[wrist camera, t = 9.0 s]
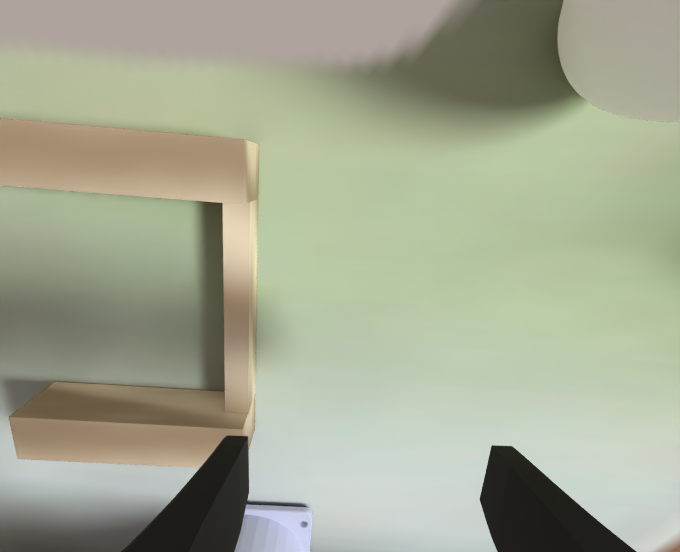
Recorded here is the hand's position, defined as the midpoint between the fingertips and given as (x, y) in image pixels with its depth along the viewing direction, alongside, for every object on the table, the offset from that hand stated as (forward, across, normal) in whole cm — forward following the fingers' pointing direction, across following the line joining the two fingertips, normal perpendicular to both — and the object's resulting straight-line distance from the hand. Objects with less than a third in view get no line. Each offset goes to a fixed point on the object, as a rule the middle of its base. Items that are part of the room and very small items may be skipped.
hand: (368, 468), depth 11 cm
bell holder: (+9, +11, -1) cm, 15 cm away
